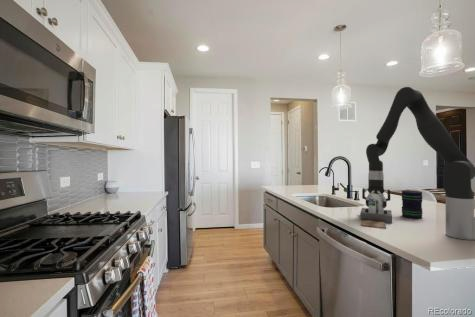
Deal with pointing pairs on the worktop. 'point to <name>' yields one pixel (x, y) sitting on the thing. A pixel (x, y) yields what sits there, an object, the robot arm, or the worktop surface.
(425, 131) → the robot arm
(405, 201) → the storage jar
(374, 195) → the syrup box
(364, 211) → the square-hole rail
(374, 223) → the walnut pad
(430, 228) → the worktop surface
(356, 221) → the worktop surface
